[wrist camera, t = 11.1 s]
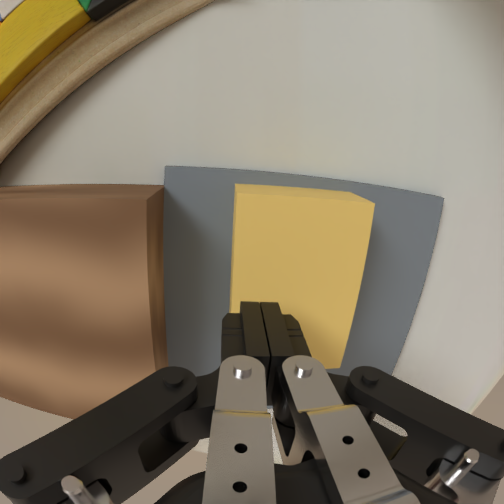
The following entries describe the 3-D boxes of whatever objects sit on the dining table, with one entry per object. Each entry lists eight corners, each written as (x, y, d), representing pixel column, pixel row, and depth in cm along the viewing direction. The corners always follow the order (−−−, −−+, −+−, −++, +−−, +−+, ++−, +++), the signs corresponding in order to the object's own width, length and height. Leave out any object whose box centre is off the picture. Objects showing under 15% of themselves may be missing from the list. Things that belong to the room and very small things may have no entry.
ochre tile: (375, 203, 13) (350, 191, 16) (237, 193, 12) (235, 183, 15) (339, 367, 16) (325, 337, 19) (229, 371, 15) (228, 338, 18)
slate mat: (166, 165, 15) (164, 166, 15) (440, 196, 17) (444, 198, 16) (172, 401, 20) (172, 405, 20) (378, 396, 22) (380, 399, 22)
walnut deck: (-79, 193, 13) (-111, 206, 9) (165, 185, 15) (146, 199, 12) (-44, 343, 18) (-65, 367, 14) (172, 391, 20) (165, 434, 16)
